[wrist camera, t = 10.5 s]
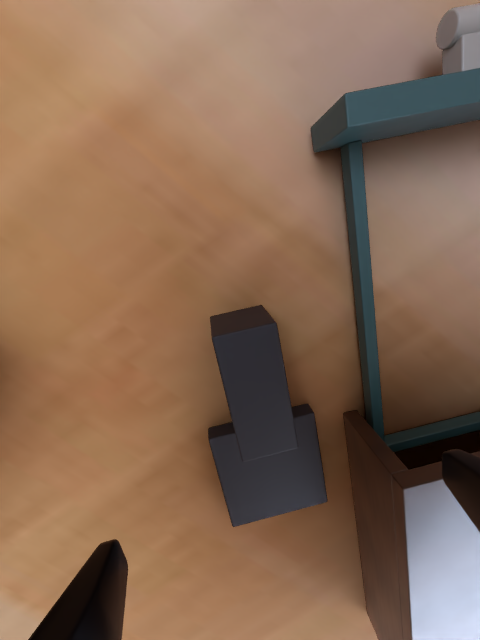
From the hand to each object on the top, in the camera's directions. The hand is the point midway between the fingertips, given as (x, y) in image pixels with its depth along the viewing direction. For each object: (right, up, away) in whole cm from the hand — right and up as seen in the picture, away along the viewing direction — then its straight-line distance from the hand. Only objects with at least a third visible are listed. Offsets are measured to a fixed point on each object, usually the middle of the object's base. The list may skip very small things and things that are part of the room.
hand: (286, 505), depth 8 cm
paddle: (0, 0, +8) cm, 8 cm away
